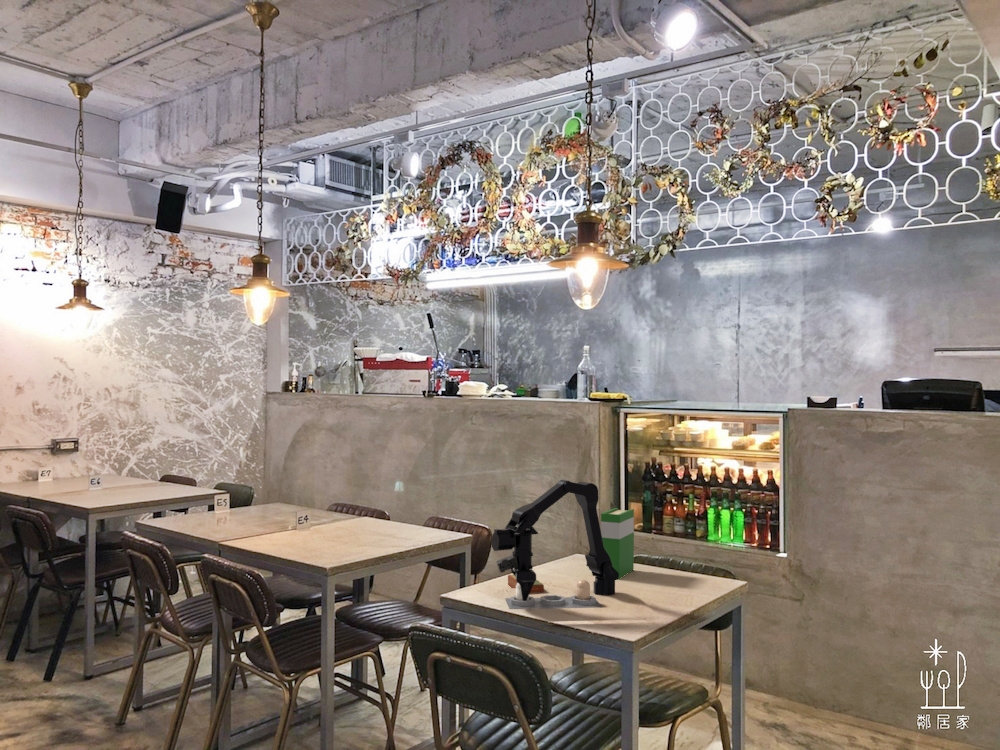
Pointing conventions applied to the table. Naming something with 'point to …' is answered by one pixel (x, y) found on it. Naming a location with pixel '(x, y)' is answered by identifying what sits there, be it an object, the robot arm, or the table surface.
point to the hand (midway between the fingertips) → (522, 596)
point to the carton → (535, 589)
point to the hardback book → (619, 538)
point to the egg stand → (552, 602)
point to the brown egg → (583, 590)
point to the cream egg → (519, 593)
